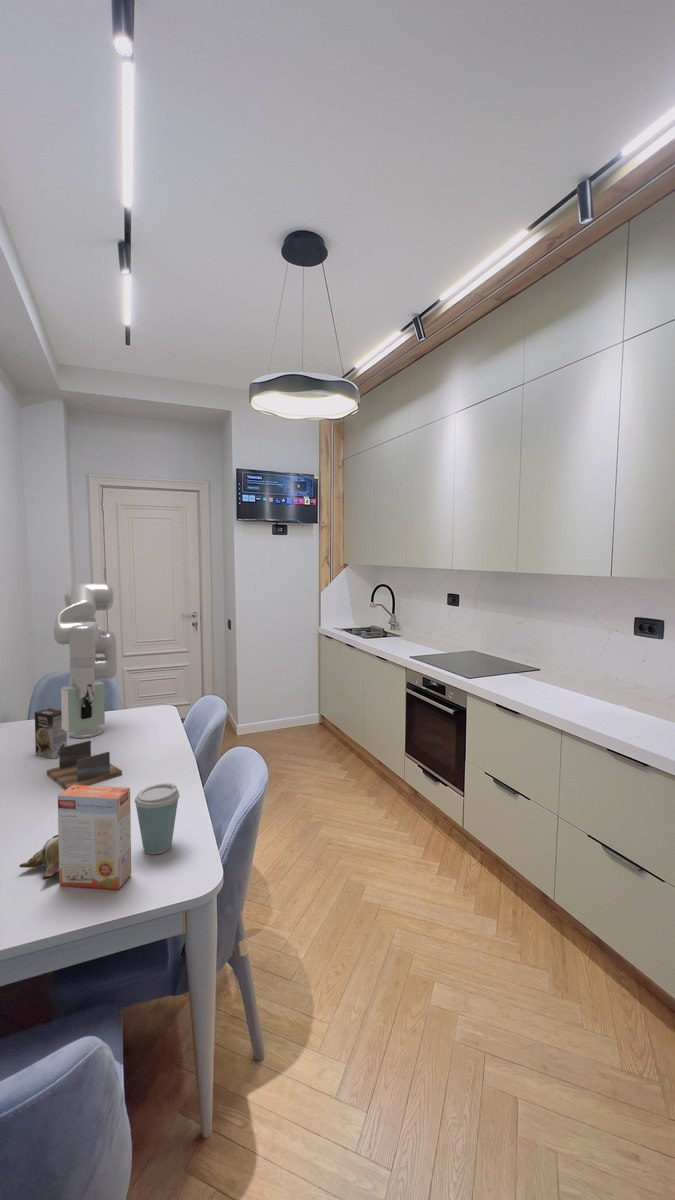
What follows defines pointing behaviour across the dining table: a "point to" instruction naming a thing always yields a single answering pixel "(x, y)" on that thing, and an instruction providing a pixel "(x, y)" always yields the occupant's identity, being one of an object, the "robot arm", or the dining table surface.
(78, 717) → the book
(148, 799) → the disposable coffee cup
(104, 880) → the cracker box
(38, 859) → the ceramic sculpture
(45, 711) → the coffee box
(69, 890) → the dining table surface
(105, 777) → the bookshelf board
